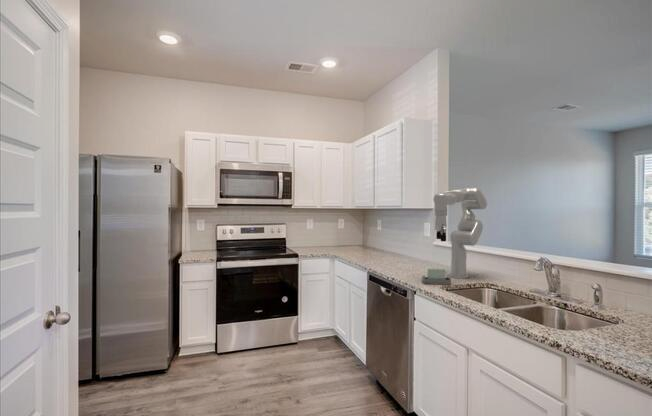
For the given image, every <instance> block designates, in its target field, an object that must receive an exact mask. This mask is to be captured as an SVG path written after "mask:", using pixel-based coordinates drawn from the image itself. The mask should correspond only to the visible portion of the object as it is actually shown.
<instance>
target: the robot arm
mask: <svg viewBox="0 0 652 416" xmlns="http://www.w3.org/2000/svg"><path fill="white" fill-rule="evenodd" d="M460 202H461V210H462V216H461V218H460V220H459V223H458V225H457V229H456V230H453V231H452V232H451V233H450V235H449V236H450V244H451V258H450V259H451V260H450V261H451V265H450V267H451V268H450V272H449V273H448V277H450V278H455V279H468V278H469V275H468V274H467V249H466V247H465V246H469V247H470V246H471V247H472V246H473V247H474V246H476V245H477V243H478V241H479V240H480V237H481V235H482V233H483V228H484V227H483V226H484V224H483V223H482V221H481V220H479V219H476V215H475V213H474V212H473V210H484V209H486V208H487V206H488V201H487V198H486V197H485V195H484V193H483V192H482V191H481V190H480V189H479V188H478V187H464V188H459V189H455V190H450V191H449V190H448V191H442V192H438V193H436V194H434V196H433V203H434V216H435V219H434V221H435V222H434V230H435V233H436V237H435V238H436V240H440V241H441V242H447V226H448V225H447V217H448V206H451V205H455V204H456V203H460Z"/></svg>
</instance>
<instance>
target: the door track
mask: <svg viewBox="0 0 652 416" xmlns="http://www.w3.org/2000/svg"><path fill="white" fill-rule="evenodd" d="M427 278H428V276H425V275H422V277H421V282H422V284H423V285H433V286H434V285H435V286H436V285H437V286H439V285H440V286H452V279H451V278H452V277H451V276H446V277H445V280H441V279H427Z"/></svg>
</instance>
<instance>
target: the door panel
mask: <svg viewBox="0 0 652 416" xmlns="http://www.w3.org/2000/svg"><path fill="white" fill-rule="evenodd" d="M427 277H428V278H427V279H441V280H445V278H446V269H445V268H435V267H434V268H432V267H431V268H430V267H427Z"/></svg>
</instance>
